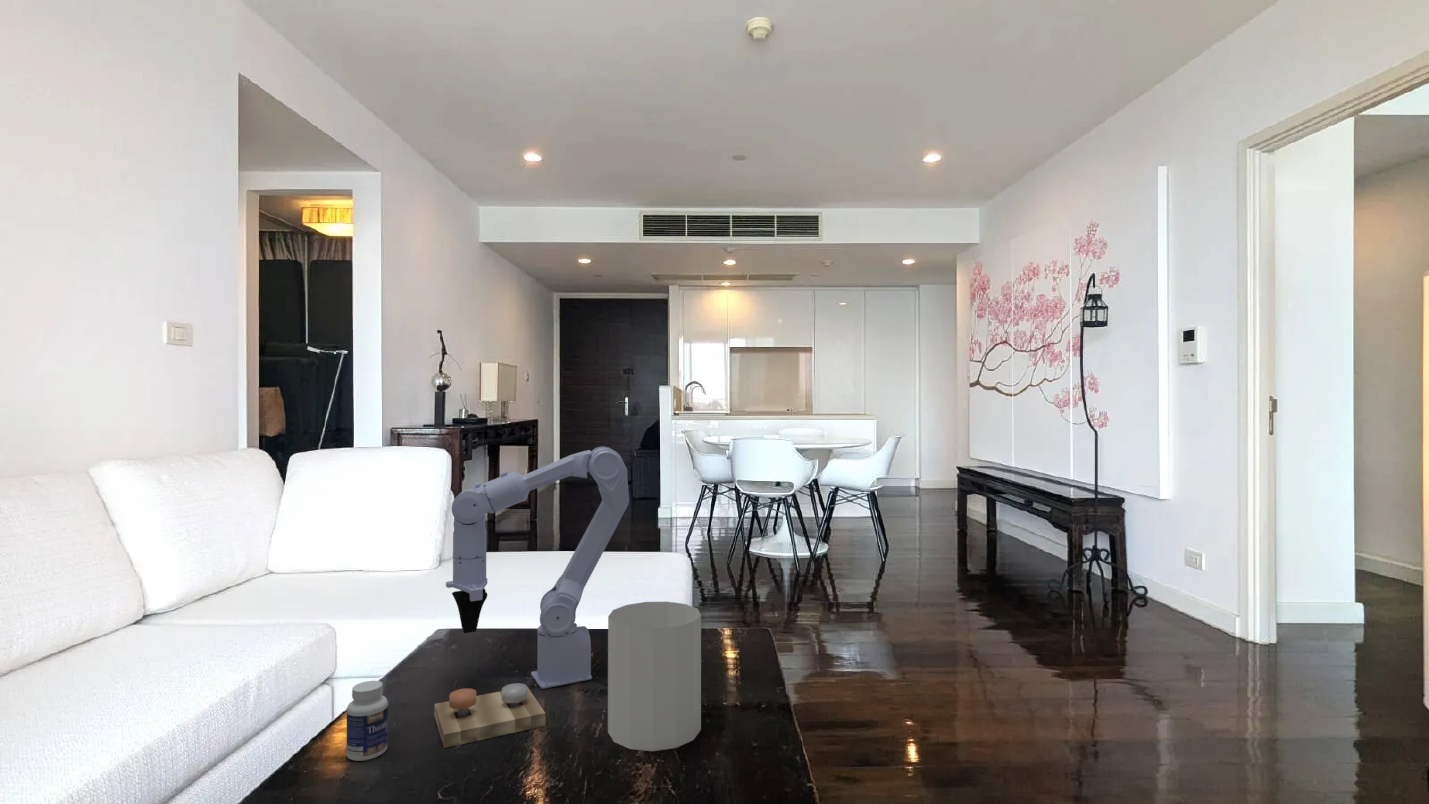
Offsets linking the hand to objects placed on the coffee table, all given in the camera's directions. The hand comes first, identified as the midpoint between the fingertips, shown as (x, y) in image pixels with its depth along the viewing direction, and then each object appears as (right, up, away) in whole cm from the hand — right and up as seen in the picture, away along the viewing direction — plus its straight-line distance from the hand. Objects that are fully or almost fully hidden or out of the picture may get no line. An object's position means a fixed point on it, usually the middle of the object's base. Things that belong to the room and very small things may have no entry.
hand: (469, 631), depth 124 cm
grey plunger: (+12, -9, -12) cm, 19 cm away
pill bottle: (-6, -10, -24) cm, 27 cm away
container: (+35, -10, -16) cm, 40 cm away
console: (+8, -10, -14) cm, 19 cm away
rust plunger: (+5, -8, -16) cm, 18 cm away
